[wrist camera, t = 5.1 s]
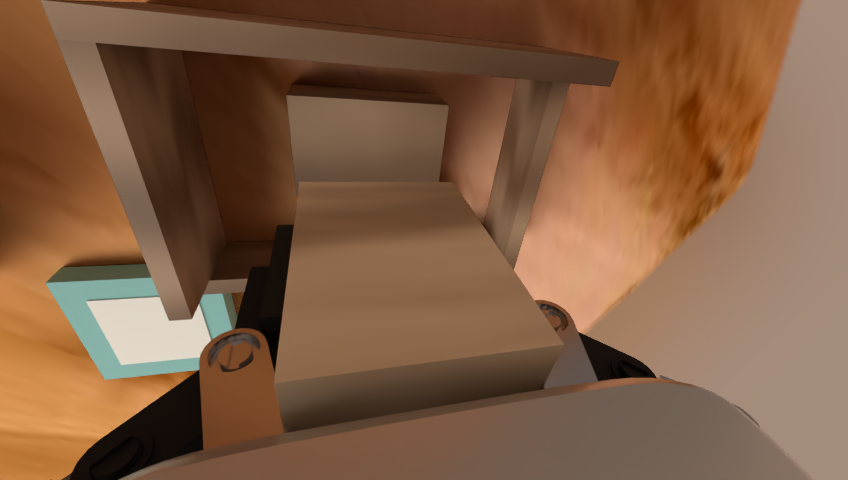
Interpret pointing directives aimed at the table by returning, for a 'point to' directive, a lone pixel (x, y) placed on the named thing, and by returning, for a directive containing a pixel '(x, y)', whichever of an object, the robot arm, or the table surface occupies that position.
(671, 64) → the table surface
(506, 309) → the beech block
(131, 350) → the teal picture frame
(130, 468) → the robot arm
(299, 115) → the brown wooden tray
